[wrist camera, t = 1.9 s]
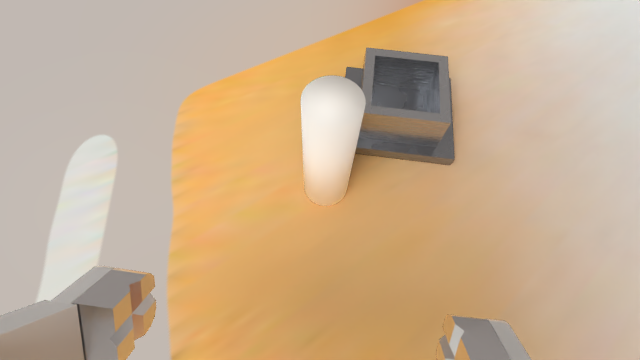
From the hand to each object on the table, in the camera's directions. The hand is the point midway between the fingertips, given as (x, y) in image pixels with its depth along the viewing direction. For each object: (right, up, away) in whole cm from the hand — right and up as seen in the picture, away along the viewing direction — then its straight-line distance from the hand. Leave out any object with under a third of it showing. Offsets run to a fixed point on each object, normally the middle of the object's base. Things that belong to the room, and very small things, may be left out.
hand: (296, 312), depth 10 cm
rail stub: (+1, +3, +19) cm, 20 cm away
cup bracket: (+8, +10, +23) cm, 26 cm away
